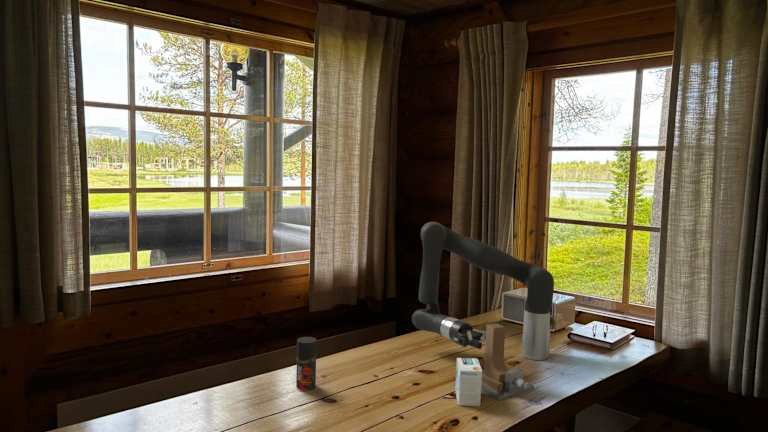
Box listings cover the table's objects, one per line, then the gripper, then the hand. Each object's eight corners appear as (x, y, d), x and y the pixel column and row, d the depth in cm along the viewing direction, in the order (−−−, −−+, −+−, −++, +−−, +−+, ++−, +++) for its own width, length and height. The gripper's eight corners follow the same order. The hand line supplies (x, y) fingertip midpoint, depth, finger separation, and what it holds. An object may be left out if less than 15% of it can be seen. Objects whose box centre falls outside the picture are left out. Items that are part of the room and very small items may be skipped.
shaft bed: (501, 374, 186) (502, 354, 185) (538, 390, 173) (539, 369, 173) (466, 384, 177) (467, 362, 176) (502, 402, 164) (503, 379, 164)
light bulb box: (454, 390, 172) (456, 357, 171) (476, 391, 172) (477, 357, 170) (458, 405, 161) (459, 370, 160) (481, 406, 161) (483, 371, 160)
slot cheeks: (498, 373, 184) (498, 365, 184) (524, 384, 176) (524, 376, 175) (472, 380, 178) (472, 372, 177) (497, 392, 169) (497, 384, 168)
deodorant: (318, 384, 173) (319, 338, 171) (310, 392, 167) (311, 344, 166) (301, 381, 175) (302, 335, 173) (292, 389, 169) (293, 341, 167)
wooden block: (510, 387, 173) (514, 331, 171) (498, 388, 172) (501, 332, 170) (495, 376, 182) (498, 323, 180) (483, 377, 180) (486, 324, 178)
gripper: (441, 322, 187) (475, 336, 174) (471, 317, 196) (506, 329, 182) (440, 344, 188) (474, 359, 175) (470, 337, 196) (505, 351, 183)
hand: (490, 343), depth 179 cm, fingers open, 8 cm apart
